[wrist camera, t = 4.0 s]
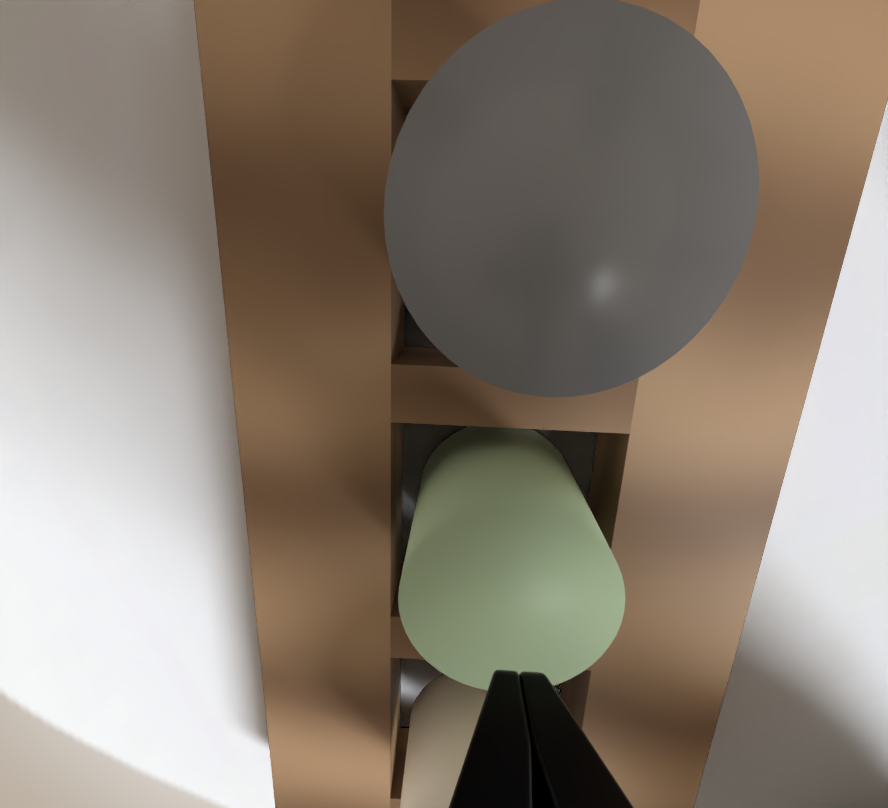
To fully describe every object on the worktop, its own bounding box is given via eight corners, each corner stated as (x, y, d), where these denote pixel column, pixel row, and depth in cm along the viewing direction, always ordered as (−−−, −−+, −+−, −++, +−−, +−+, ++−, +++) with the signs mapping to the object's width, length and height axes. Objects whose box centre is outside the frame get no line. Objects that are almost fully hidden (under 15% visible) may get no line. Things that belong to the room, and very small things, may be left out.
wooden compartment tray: (648, 792, 18) (676, 870, 16) (302, 766, 19) (278, 839, 17) (830, 6, 11) (933, -67, 8) (244, -4, 11) (186, -75, 9)
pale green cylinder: (563, 562, 15) (608, 699, 10) (418, 554, 15) (397, 685, 11) (581, 425, 14) (642, 511, 9) (421, 417, 14) (398, 497, 9)
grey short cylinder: (611, 346, 11) (715, 405, 7) (417, 337, 12) (383, 389, 7) (642, 125, 10) (803, 1, 5) (421, 120, 10) (382, -7, 5)
